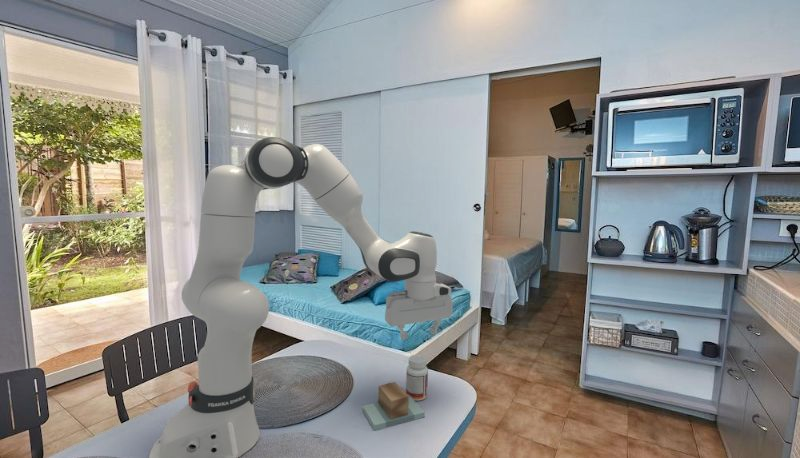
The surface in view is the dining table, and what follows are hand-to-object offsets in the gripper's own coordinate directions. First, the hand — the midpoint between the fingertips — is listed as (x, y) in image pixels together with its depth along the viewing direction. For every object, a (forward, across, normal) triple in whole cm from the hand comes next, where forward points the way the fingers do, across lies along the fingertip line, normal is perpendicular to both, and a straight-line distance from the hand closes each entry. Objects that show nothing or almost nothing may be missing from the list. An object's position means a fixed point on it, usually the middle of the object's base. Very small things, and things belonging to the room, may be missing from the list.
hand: (419, 336), depth 106 cm
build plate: (+18, -10, -6) cm, 21 cm away
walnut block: (+16, -10, -6) cm, 20 cm away
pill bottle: (+18, 0, 0) cm, 18 cm away
